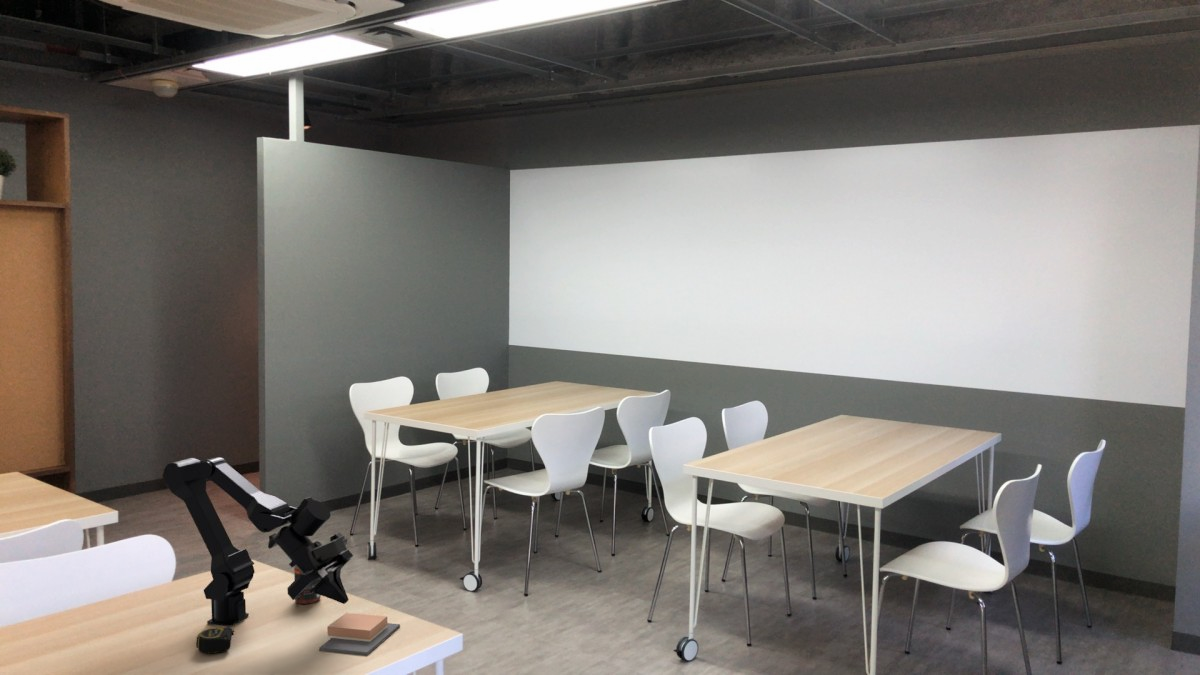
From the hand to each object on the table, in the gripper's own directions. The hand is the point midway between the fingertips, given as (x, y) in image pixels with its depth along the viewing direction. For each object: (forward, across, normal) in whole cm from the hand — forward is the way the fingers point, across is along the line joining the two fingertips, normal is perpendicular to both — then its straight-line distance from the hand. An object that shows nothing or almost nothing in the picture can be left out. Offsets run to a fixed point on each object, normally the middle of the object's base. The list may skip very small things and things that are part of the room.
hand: (346, 602), depth 185 cm
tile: (+2, 0, +5) cm, 6 cm away
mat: (+8, -2, +2) cm, 8 cm away
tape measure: (-11, -13, +21) cm, 27 cm away
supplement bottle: (-8, +16, +19) cm, 26 cm away
